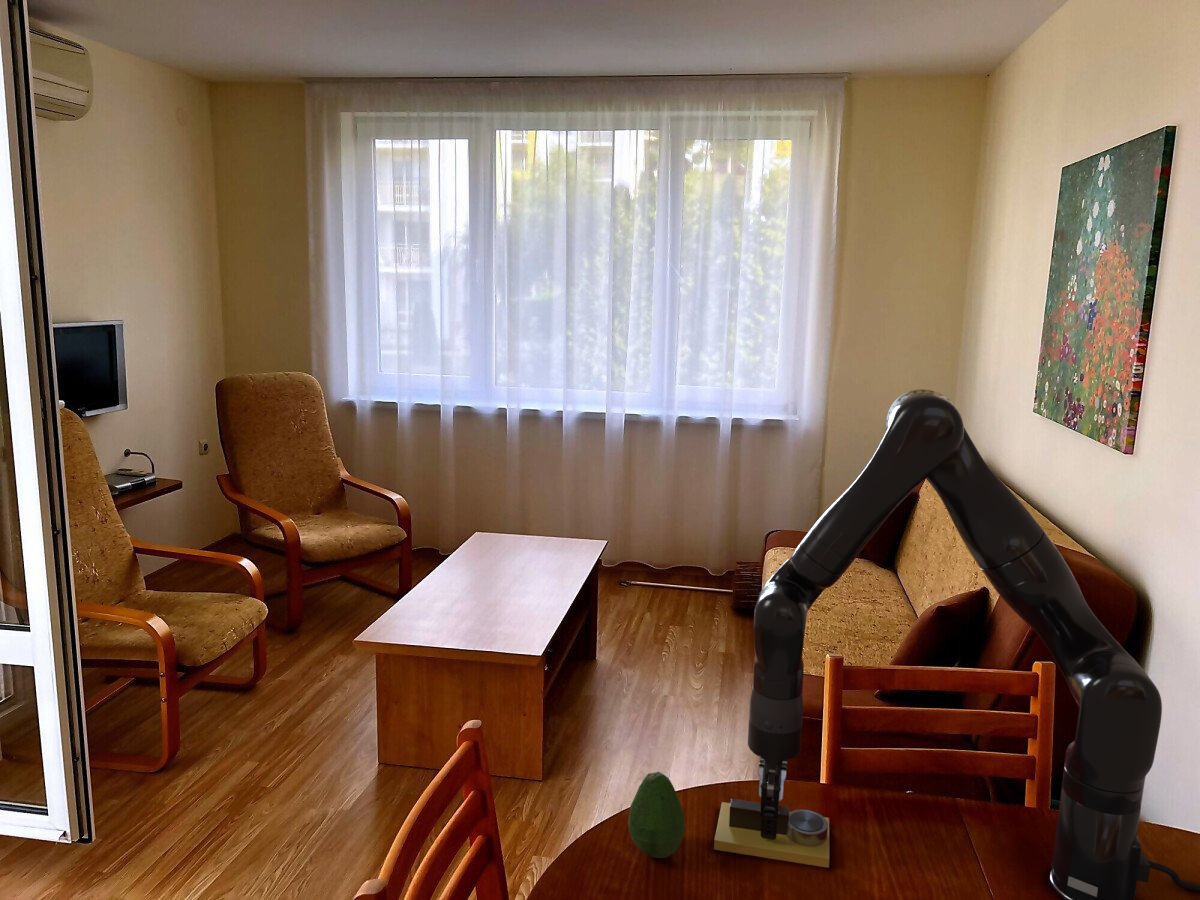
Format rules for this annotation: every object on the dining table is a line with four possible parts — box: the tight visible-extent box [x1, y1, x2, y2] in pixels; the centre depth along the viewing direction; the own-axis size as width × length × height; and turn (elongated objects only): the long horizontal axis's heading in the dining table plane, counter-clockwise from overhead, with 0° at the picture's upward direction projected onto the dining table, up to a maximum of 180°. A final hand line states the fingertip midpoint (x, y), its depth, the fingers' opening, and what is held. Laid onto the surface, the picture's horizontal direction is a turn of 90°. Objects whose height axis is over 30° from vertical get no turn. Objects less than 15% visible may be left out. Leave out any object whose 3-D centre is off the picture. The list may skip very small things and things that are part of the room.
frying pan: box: [729, 798, 828, 846], centre depth 132 cm, size 14×6×3 cm, turn 76°
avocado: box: [627, 771, 686, 859], centre depth 128 cm, size 8×8×12 cm
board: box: [713, 801, 830, 869], centre depth 133 cm, size 16×10×2 cm, turn 76°
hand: (769, 825), depth 133 cm, fingers open, 5 cm apart
